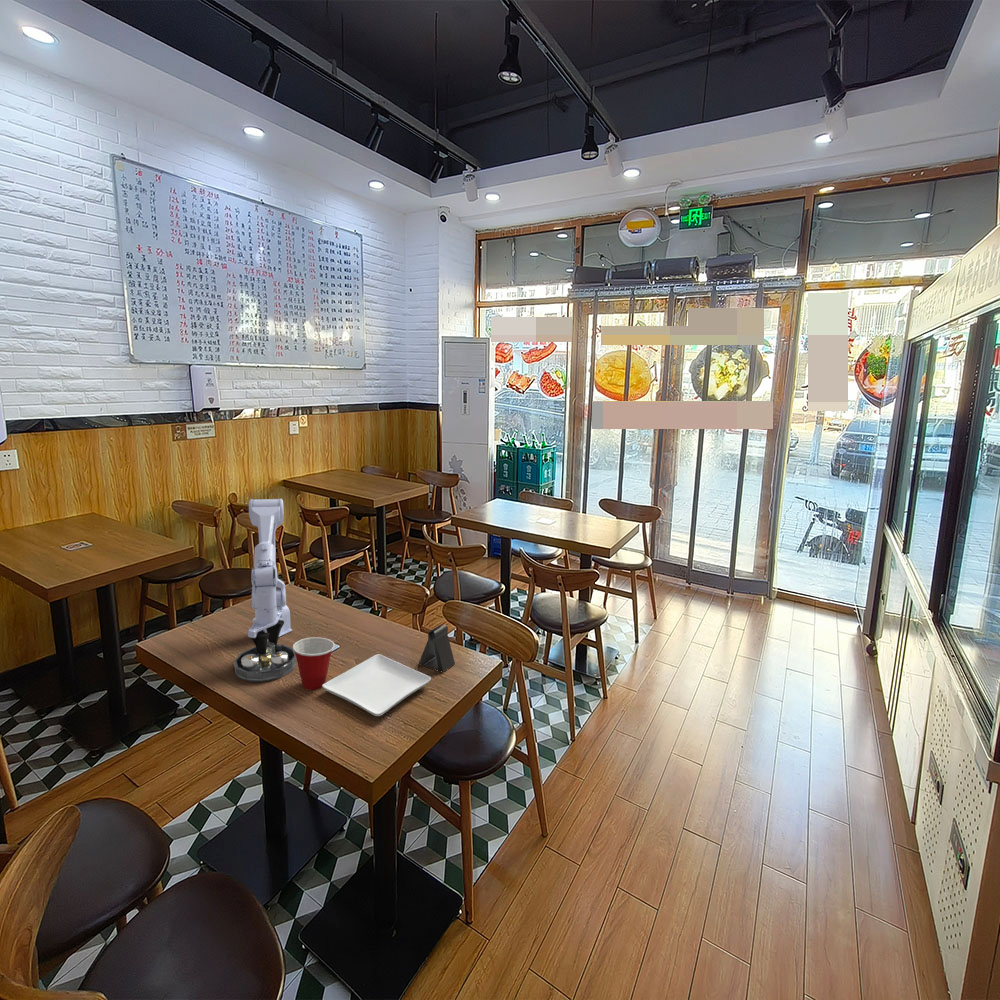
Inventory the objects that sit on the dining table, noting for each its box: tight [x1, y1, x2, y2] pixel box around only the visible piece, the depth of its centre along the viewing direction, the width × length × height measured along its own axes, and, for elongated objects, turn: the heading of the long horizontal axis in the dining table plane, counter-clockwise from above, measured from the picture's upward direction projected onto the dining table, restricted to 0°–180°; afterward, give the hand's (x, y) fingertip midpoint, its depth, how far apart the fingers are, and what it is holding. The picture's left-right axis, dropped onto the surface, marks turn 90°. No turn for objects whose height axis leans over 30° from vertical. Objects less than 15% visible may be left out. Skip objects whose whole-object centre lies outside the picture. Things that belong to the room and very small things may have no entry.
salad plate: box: [322, 653, 432, 717], centre depth 145 cm, size 21×21×3 cm
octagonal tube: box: [258, 641, 275, 659], centre depth 157 cm, size 4×4×3 cm
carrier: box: [233, 643, 297, 683], centre depth 153 cm, size 16×16×5 cm
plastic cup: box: [292, 636, 336, 691], centre depth 145 cm, size 11×11×12 cm
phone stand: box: [418, 623, 456, 673], centre depth 159 cm, size 9×6×12 cm, turn 60°
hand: (267, 649), depth 157 cm, fingers open, 5 cm apart
